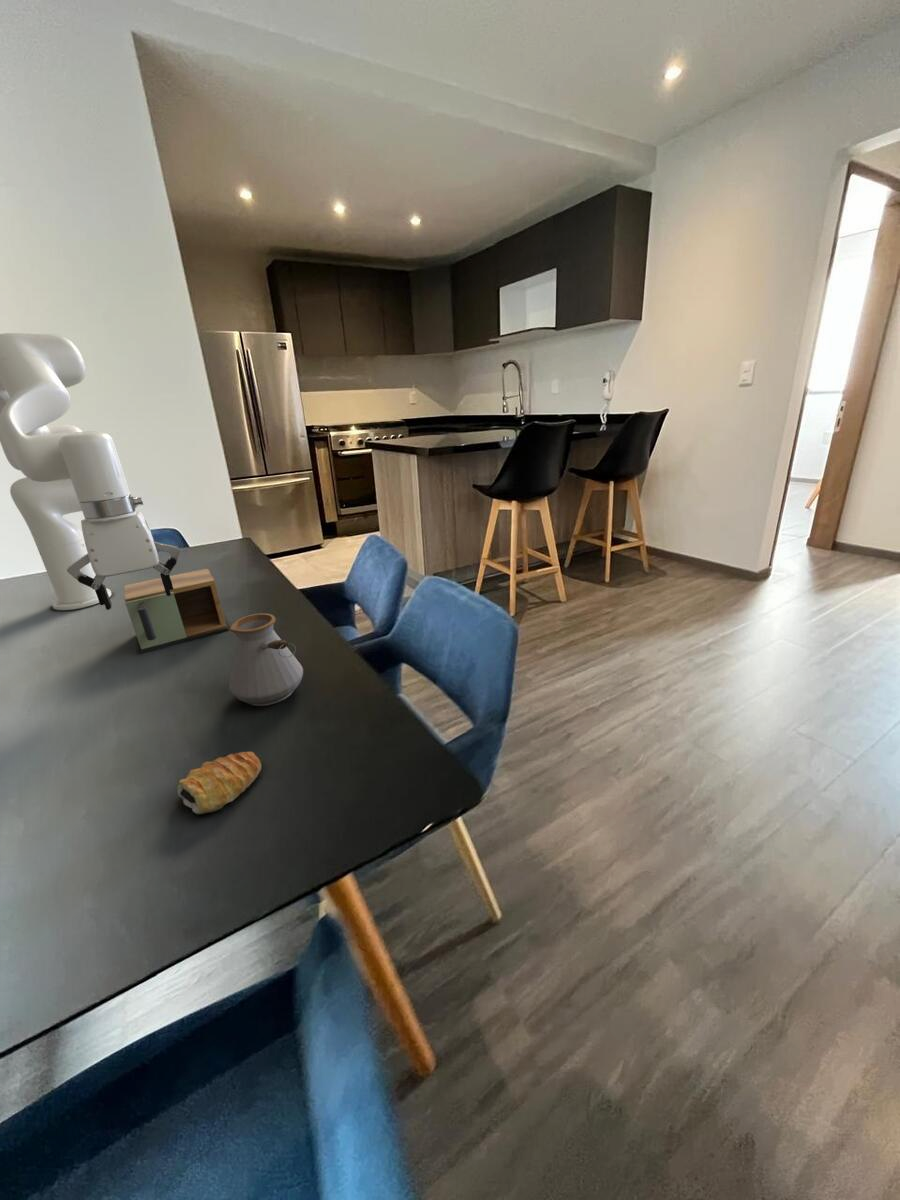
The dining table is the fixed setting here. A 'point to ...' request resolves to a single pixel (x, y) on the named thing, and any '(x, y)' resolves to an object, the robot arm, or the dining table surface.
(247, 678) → the coffee pot
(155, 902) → the dining table surface
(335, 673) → the dining table surface
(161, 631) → the sliding door
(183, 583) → the cabinet
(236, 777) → the pastry
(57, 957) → the dining table surface
